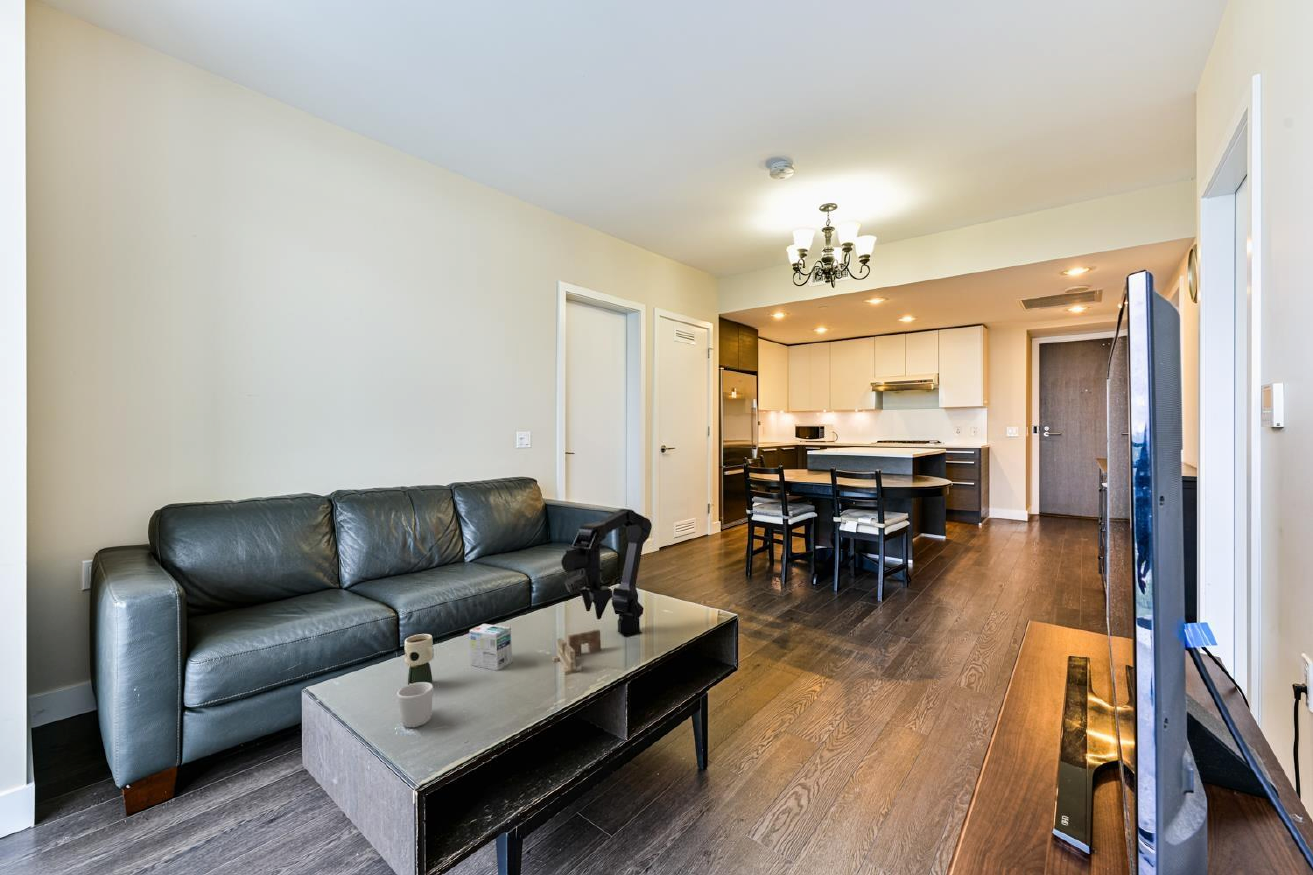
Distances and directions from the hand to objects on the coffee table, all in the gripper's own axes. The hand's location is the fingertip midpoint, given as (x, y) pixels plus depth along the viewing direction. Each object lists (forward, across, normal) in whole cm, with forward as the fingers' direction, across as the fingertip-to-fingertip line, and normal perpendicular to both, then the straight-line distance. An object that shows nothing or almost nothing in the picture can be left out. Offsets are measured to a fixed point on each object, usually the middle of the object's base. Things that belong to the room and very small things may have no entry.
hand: (593, 614), depth 173 cm
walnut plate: (+11, 0, -3) cm, 11 cm away
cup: (+11, +17, -52) cm, 56 cm away
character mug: (+11, -3, -50) cm, 52 cm away
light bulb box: (+11, -7, -30) cm, 33 cm away
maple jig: (+11, +6, -11) cm, 17 cm away
